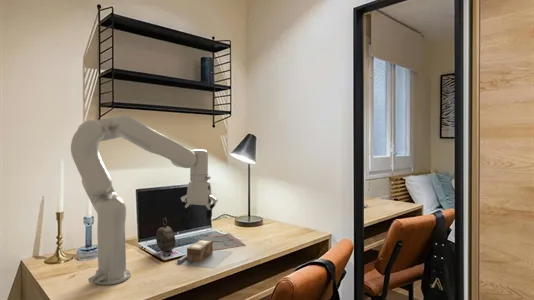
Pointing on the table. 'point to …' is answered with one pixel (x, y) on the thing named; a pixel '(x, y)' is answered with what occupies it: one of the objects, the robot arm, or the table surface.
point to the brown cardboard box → (200, 250)
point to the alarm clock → (165, 238)
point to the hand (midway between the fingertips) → (198, 217)
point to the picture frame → (223, 241)
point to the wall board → (206, 259)
